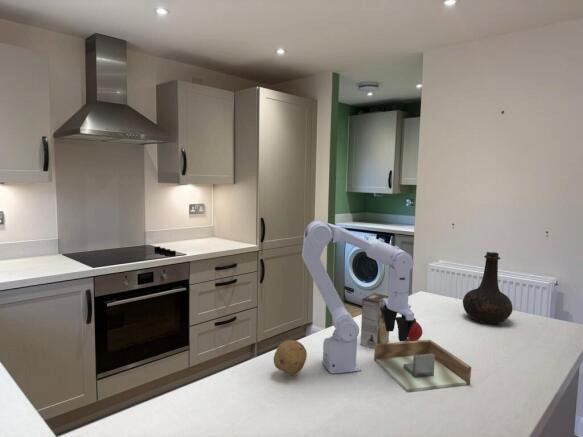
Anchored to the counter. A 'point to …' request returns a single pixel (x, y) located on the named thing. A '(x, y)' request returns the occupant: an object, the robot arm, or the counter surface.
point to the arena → (397, 354)
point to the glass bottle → (488, 296)
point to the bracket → (421, 365)
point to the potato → (290, 357)
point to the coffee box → (373, 321)
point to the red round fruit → (415, 332)
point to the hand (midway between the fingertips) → (396, 335)
